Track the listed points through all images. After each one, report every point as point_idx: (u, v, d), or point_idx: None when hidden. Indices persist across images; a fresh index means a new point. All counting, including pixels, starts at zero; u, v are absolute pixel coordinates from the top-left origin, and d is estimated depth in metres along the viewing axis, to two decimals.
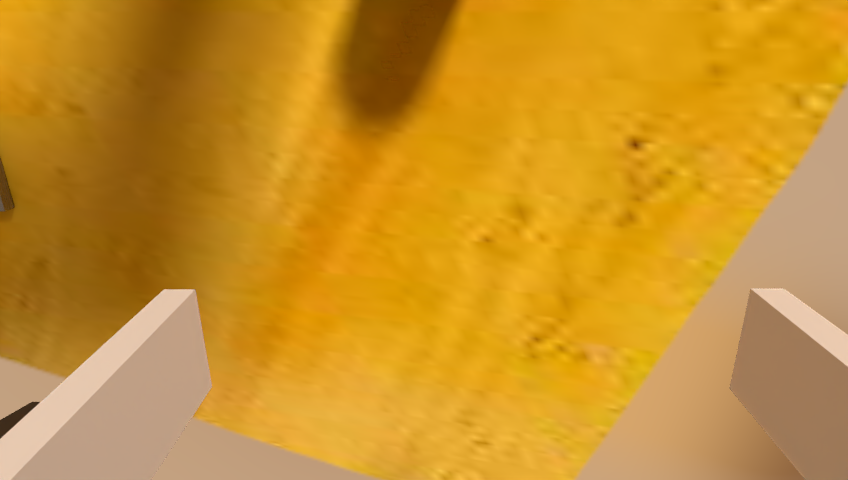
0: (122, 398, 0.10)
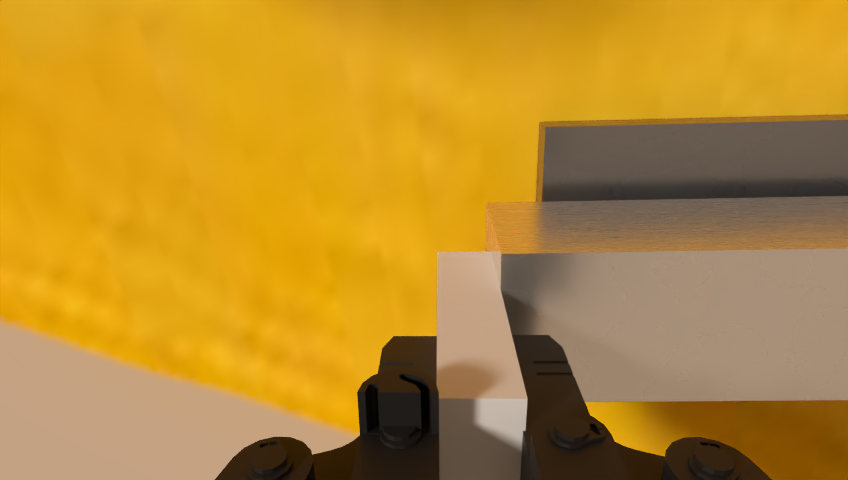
0: None
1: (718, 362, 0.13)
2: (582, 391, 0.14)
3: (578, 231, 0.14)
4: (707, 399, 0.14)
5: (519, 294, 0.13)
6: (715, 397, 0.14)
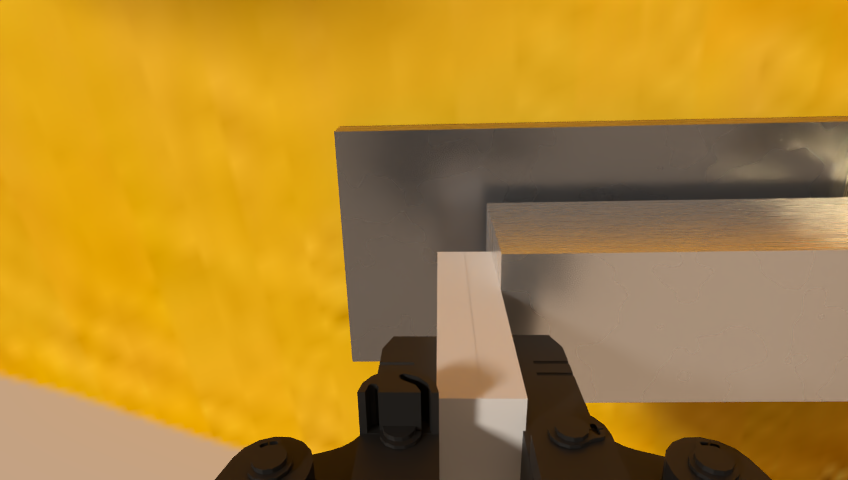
0: None
1: (718, 363, 0.13)
2: (582, 391, 0.14)
3: (579, 232, 0.14)
4: (706, 400, 0.14)
5: (519, 294, 0.13)
6: (715, 398, 0.14)
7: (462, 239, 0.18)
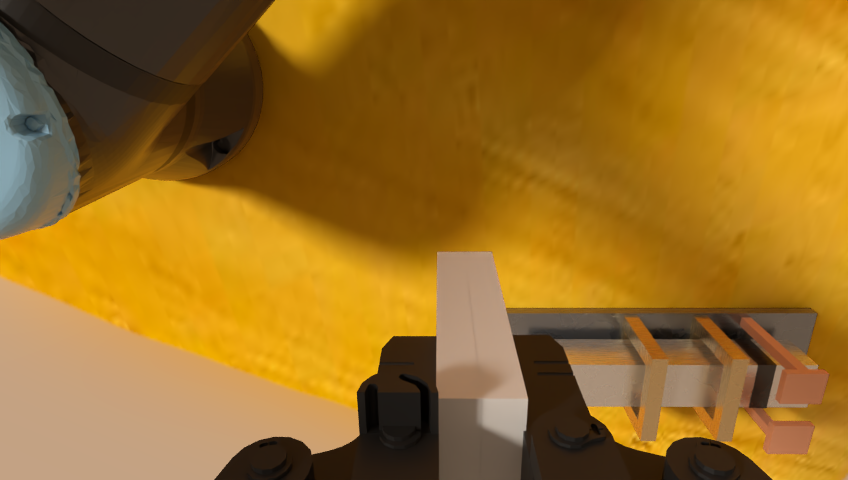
0: None
1: (602, 395, 0.45)
2: None
3: None
4: (599, 405, 0.46)
5: None
6: (602, 405, 0.45)
7: None
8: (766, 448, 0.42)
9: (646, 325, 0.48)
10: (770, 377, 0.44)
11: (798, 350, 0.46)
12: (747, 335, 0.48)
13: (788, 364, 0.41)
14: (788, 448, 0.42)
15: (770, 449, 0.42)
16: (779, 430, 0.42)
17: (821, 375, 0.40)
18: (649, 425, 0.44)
